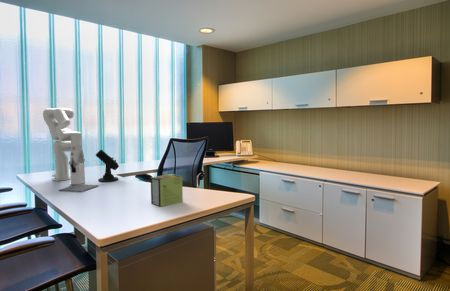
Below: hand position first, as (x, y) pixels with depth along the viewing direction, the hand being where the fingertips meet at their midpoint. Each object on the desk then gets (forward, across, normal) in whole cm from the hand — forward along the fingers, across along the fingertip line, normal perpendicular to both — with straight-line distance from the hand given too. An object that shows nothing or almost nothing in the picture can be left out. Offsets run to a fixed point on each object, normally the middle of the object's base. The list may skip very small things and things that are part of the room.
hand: (77, 171), depth 225 cm
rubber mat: (+9, -14, -12) cm, 21 cm away
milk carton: (+10, 0, 0) cm, 10 cm away
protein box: (+10, -35, -87) cm, 94 cm away
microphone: (+10, +16, -15) cm, 24 cm away
